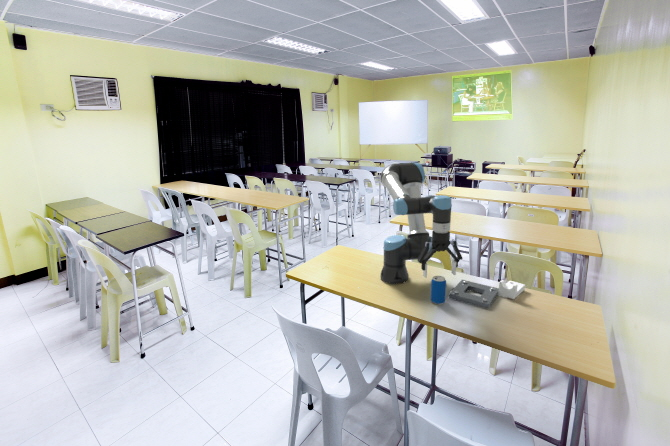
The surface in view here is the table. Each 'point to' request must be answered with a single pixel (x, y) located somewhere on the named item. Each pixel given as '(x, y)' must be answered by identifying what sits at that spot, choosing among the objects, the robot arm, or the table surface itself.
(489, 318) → the table surface
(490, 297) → the grey fixture plate
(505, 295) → the bracket
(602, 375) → the table surface
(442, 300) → the beverage can
